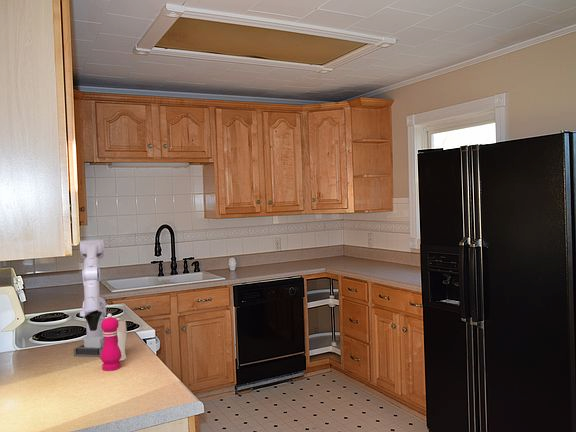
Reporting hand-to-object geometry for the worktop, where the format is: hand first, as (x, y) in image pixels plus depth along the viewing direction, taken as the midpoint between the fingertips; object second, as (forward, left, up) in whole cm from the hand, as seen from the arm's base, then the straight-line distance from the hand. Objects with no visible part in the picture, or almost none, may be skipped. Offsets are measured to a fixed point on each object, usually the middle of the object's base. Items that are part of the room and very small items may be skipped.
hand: (93, 330), depth 201 cm
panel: (0, 0, -8) cm, 8 cm away
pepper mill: (+16, +17, -9) cm, 26 cm away
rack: (0, 0, -9) cm, 9 cm away
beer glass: (+6, +14, -9) cm, 18 cm away
